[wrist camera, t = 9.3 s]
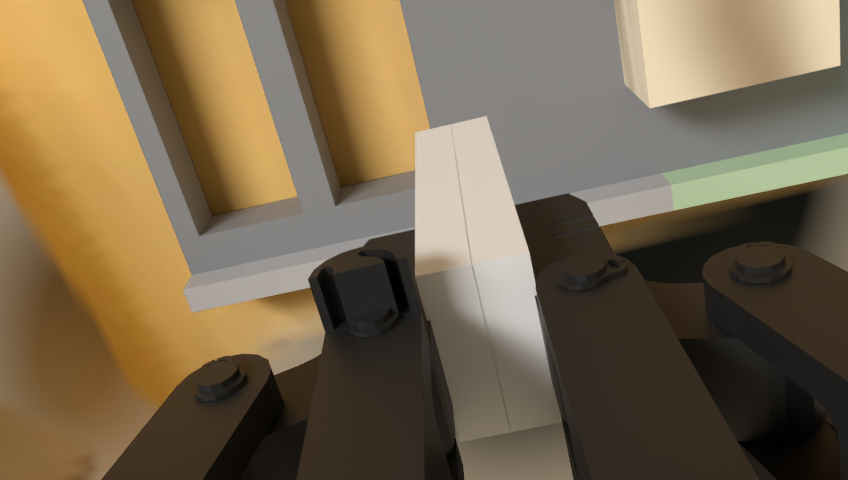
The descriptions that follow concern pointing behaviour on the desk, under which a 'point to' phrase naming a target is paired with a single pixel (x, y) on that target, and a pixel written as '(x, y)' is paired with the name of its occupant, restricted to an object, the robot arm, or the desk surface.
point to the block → (721, 44)
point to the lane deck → (465, 100)
